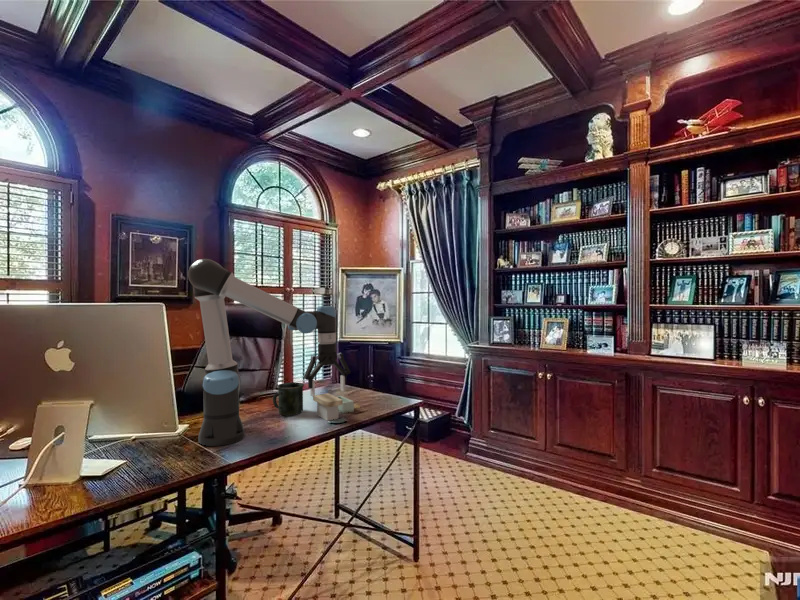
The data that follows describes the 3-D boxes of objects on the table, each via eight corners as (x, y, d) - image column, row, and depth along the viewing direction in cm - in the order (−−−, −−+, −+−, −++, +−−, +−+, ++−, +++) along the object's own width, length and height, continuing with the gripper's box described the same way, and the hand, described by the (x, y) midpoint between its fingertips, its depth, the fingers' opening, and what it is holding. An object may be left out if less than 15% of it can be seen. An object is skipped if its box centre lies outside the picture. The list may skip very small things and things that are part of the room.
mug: (309, 411, 181) (309, 384, 181) (282, 419, 170) (282, 390, 169) (293, 407, 188) (292, 381, 188) (265, 415, 176) (265, 387, 176)
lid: (326, 407, 166) (326, 402, 166) (313, 400, 177) (313, 395, 177) (342, 404, 170) (342, 400, 170) (328, 397, 181) (328, 393, 181)
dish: (343, 413, 178) (343, 403, 178) (331, 407, 188) (331, 397, 188) (353, 411, 181) (353, 401, 181) (341, 405, 191) (341, 395, 191)
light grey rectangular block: (327, 420, 168) (327, 406, 168) (317, 414, 176) (317, 400, 176) (338, 418, 171) (338, 404, 171) (328, 412, 179) (328, 399, 179)
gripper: (301, 346, 163) (302, 400, 163) (357, 341, 177) (358, 390, 177) (294, 344, 169) (296, 396, 169) (349, 339, 183) (350, 387, 183)
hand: (328, 393), depth 173 cm, fingers open, 13 cm apart
